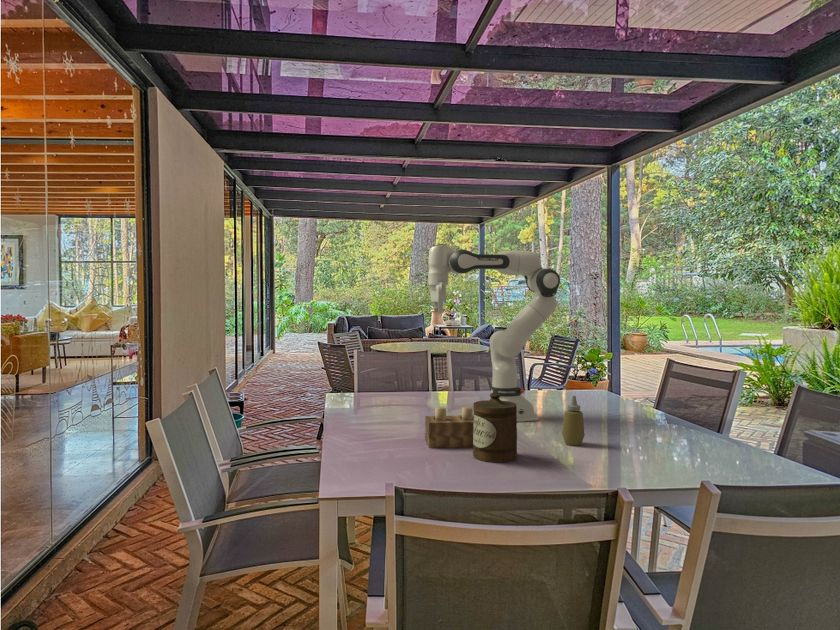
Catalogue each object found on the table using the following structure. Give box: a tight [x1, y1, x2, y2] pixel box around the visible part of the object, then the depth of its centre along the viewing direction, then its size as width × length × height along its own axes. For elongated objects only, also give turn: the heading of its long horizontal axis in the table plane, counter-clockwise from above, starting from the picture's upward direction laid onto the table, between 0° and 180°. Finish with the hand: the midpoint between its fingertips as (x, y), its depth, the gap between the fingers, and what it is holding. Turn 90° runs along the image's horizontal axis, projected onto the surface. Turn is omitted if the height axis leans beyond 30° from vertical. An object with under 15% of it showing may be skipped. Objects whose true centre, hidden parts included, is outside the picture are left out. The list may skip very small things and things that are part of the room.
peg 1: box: [434, 406, 447, 421], centre depth 214 cm, size 4×4×8 cm
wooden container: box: [472, 392, 518, 463], centre depth 197 cm, size 15×15×22 cm
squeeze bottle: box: [561, 395, 585, 447], centre depth 214 cm, size 8×8×18 cm
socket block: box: [424, 414, 474, 449], centre depth 215 cm, size 20×12×9 cm, turn 96°
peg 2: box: [461, 406, 474, 420], centre depth 215 cm, size 4×4×8 cm
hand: (438, 312), depth 254 cm, fingers open, 8 cm apart
